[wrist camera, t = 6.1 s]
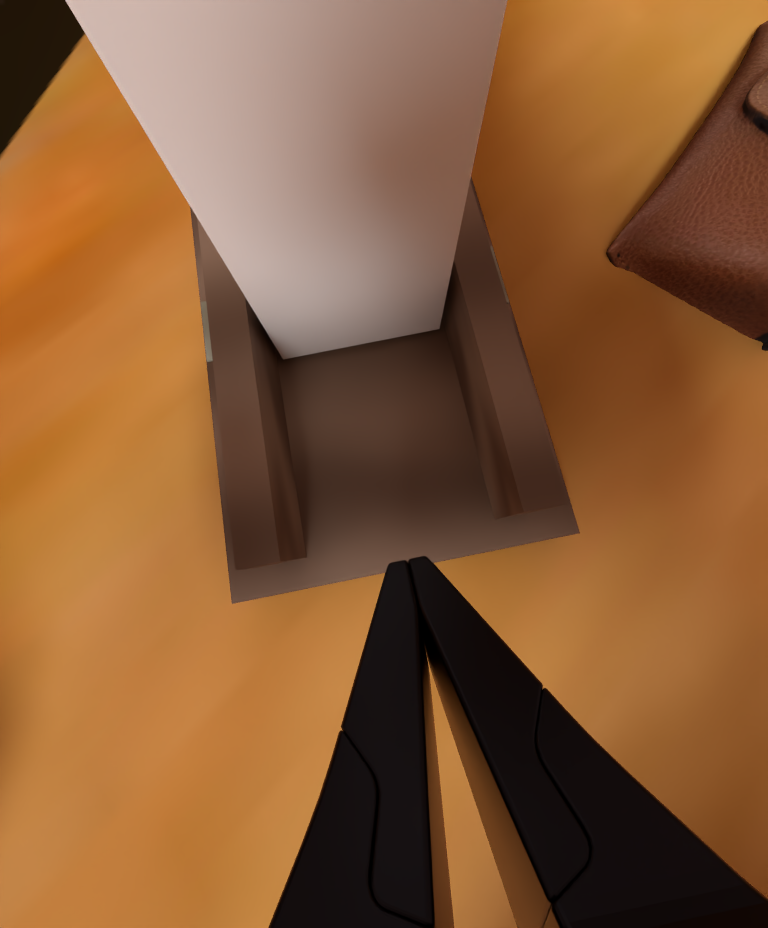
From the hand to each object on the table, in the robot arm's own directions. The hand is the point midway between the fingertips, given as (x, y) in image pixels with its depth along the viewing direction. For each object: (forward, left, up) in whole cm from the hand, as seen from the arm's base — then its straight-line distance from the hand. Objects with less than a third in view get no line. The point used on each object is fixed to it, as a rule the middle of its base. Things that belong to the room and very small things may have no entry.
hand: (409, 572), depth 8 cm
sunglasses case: (+21, -12, -7) cm, 26 cm away
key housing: (+7, +3, -6) cm, 10 cm away
